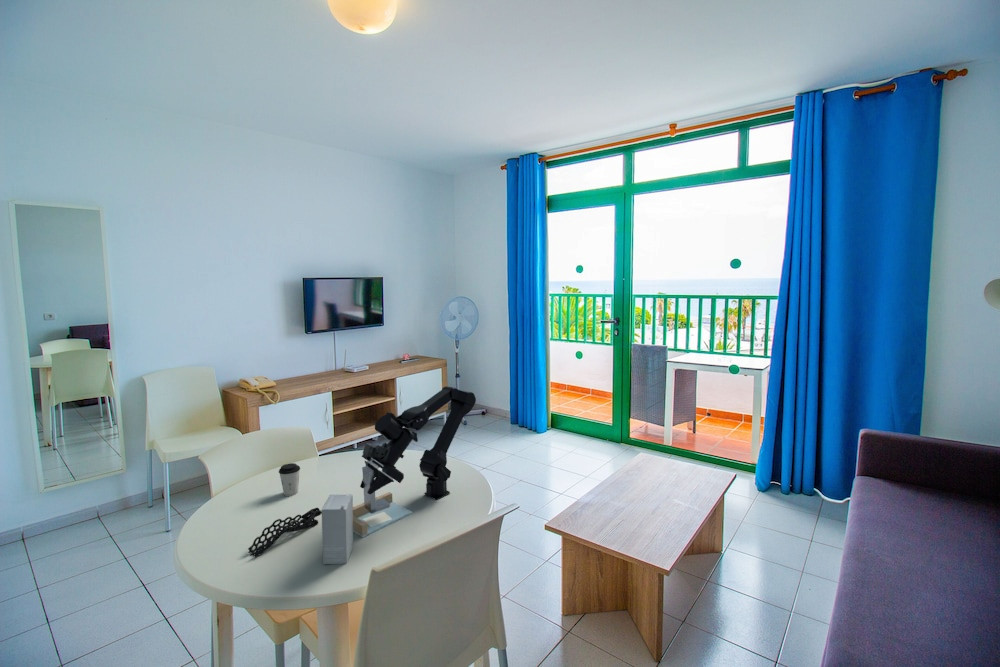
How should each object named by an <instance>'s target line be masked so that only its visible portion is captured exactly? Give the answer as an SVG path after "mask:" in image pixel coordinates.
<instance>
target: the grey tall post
mask: <svg viewBox="0 0 1000 667" xmlns="http://www.w3.org/2000/svg"><path fill="white" fill-rule="evenodd" d="M361 469H362V480H363V487H364V488H363V500H364V502H363V503H364V504H365V508H366V509H367V510H368V511H369V512H370V513H371V514H372V513H375V512H378V511H381V510H383V509H386V508H389V507H390V503H388V502H387V501H386V500H385V499H384V498H381V499H378V500H375V498H376V491H375V492H373V493H372V494H368V493H367V492H368V490H369V488H370V486H371V485H372V483H373V481H374V480H375V478H374V471H373V470H372V469H371V468H369V467H368V466H366V465H365V466H363V467H362V468H361Z"/></svg>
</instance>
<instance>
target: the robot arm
mask: <svg viewBox="0 0 1000 667" xmlns="http://www.w3.org/2000/svg"><path fill="white" fill-rule="evenodd" d="M476 402H477V397H476V395H475V394H474V392H471V391H466V390H465V391H464V390H460V389H458V388H456V387H453V386H448V385H447V386H443V387H442V389H441V390H439V391H438V392H436V394H434V395H433V396H431V397H430V398H429V399H427V400H425V401H424V402H423V403H422V404H420V405H417V406H412V407H409V408H407V409H405V410H403V412H402V413H401V414H399V415H397V416H396V415H395V414H394V413H392V412H389V411H387V412H386V414H385V415H382V416H381V417H380V418H379V419H377V420H376V422H375V424H374V429H375V431H376V432H378V433H379V434H380V435H382V436H383V437H384V438H385V439H387V440H388V442H384V443H382V444H381V445H378V444H373V443H369V442H366V443H365V445H364V447H363V451H362V455H361V457H362V458H363V459H365V460H364V465H365V466H368V467H369V468H371V469H372V470H373V471H374V481H373V483H372V485H371V486H370V488H369V490H368V492H367V493H368V494H372V493H373V492H375V493H376V492H377V491H378V490H380V489H382V488H383V487H385V486H387V485H389V484H391V483H394V482H395V481H396V482H398V483H399V484H401V483H402V482H403V480H404V479H405V474H404V473H403V472H402V471H400V470H399V469H397V466H395V465H396V464H397V462H398V460H400V458H401V459H403V458H404V457H405V455H403V454H404V452H405V451H406V450H407V448H408V447H409V445H410V444H411V442H412V441H414V442H415V443H418V441H419V440H418V439H419V438H418V433H417V432H415V431H420V430H422V429H423V428H424V427H425V426H426V425H427V423H429V420H430V418H431V417H432V415H433V414H435V413H436V412H437V411H439V410H440V409H441V408H442V407H444V406H445V405H446V404H448V403H449V404H450V412H449V414H448V416H447V418H446V420H445V423H444V424H443V426H442V429H440V430H441V431H440V432H439V435H438V436H437V439H436V441H435V443H434V446H433V447H431V449H425V450H424V452H423V454H422V457H421V458H420V460H419V461H420V462H419V466H418V467H419V469H420V470H419V471H420V472H421V473H422V476H423V477H426V484H425V486H426V487H425V489H426V490H425V492H424V493H423V494H425V495H424V496H427V497H429V498H432V499H433V500H439V499H441V498H444V497H445V496H447V495H449V494H451V492H450V491H449V490H448V489H447V486H448V485H447V481H448V479H450V478H451V474H452V470H450V469H449V468H447V464H448V459H447V453H448V451H449V448H450V446H451V445H452V442H453V440H454V437H455V436H456V433H457V432H458V429H459V427H460V424H461V423H462V421H463V418H464V417H465V416H467V415H468V414H469V413H470V412H471V411H472V410H473V408H474V406H475V405H476ZM409 429H410V430H409ZM411 430H415V431H411ZM379 468H380V469H381V470H380V469H379ZM359 487H360V488H361V489H364V487H363V479H362V480H361V482H360V485H359ZM448 493H449V494H448ZM446 494H447V495H446ZM444 495H445V496H444Z"/></svg>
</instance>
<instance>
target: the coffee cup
mask: <svg viewBox="0 0 1000 667" xmlns="http://www.w3.org/2000/svg"><path fill="white" fill-rule="evenodd" d="M300 470H301V467H300V466H299V465H298V464H297V463H295V462H294V463H293V462H292V463H286V464H283V465H281V466H280V468H279V470H278V474H279V478H280V481H281V487H282V491H283V495H284V497H292V495H293V496H296V495H297V494H298V493H299V484H300Z"/></svg>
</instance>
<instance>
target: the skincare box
mask: <svg viewBox="0 0 1000 667" xmlns="http://www.w3.org/2000/svg"><path fill="white" fill-rule="evenodd" d="M353 500H354V499H353V494H349V493H348V494H330V495H329V496H328V498H327V499H326V501H325V502H324V504H323V506H322V507H321V511H322V514H321V543H322V564H323V565H340V564H347V563H348V561H349V558H350V556H351V553H352V550H353V547H354V532H353V507H354V503H353V502H354V501H353Z"/></svg>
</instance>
